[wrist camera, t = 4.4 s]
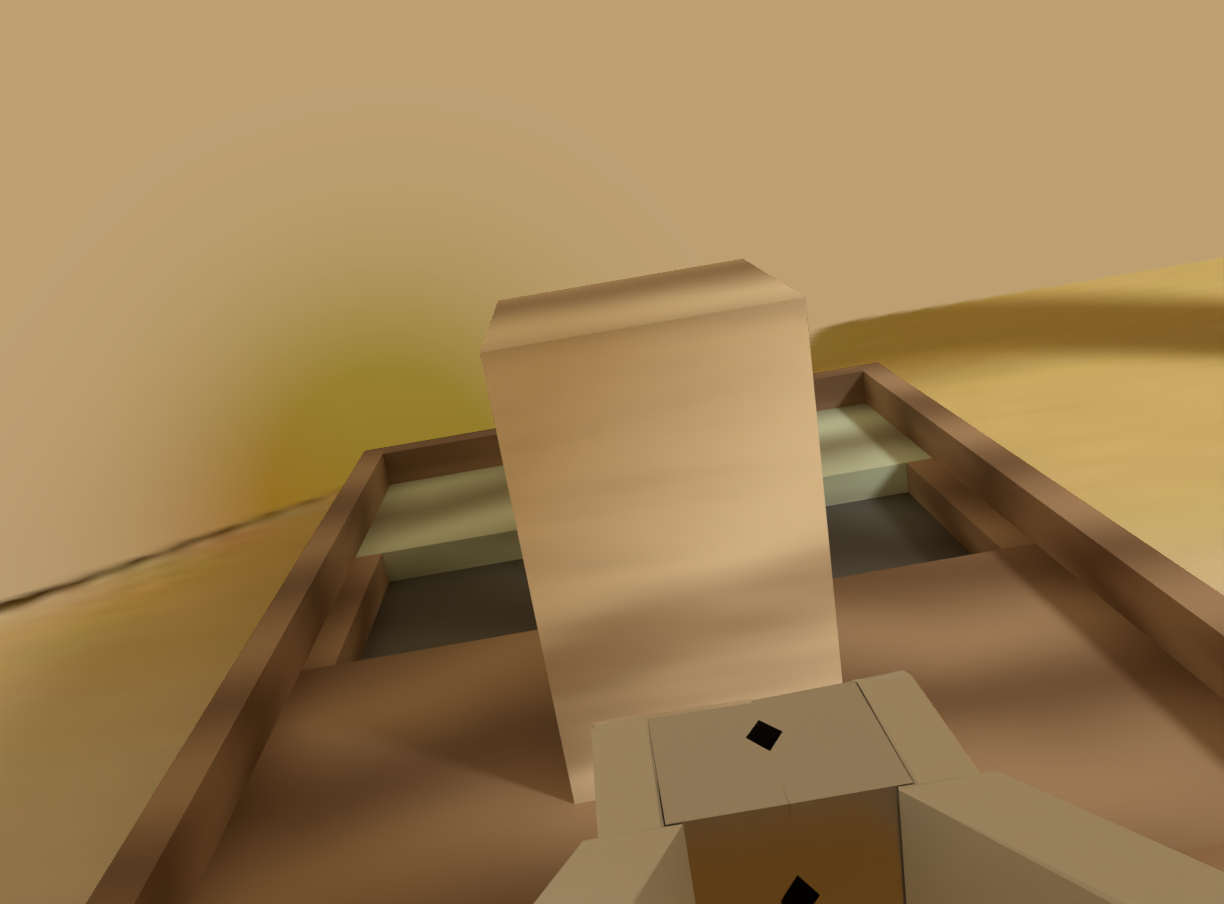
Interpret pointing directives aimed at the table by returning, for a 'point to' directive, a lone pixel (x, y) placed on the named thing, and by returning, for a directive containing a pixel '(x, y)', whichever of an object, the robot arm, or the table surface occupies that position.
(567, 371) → the maple block
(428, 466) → the tray
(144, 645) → the table surface
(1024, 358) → the table surface
